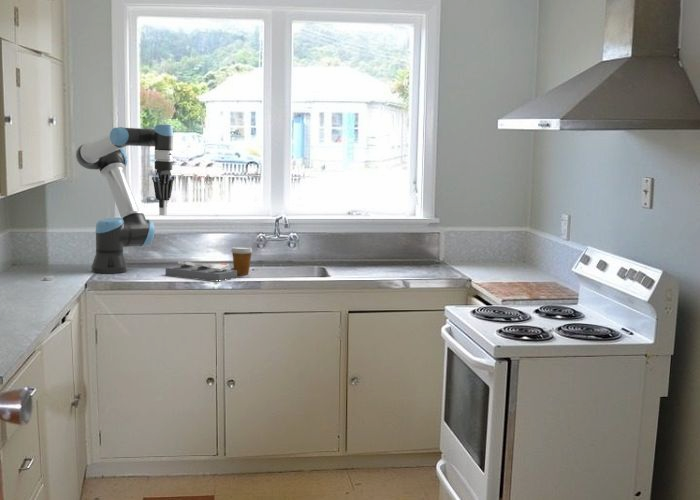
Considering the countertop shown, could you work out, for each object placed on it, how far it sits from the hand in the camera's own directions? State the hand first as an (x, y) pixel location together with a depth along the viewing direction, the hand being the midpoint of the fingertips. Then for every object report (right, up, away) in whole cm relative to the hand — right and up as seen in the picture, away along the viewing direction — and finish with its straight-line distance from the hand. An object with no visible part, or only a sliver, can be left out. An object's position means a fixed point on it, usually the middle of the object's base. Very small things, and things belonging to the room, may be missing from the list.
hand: (162, 215), depth 367 cm
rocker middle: (+17, -22, +5) cm, 28 cm away
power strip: (+16, -27, +4) cm, 31 cm away
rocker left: (+9, -21, +9) cm, 24 cm away
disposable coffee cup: (+32, -26, +15) cm, 44 cm away
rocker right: (+25, -23, +1) cm, 34 cm away
